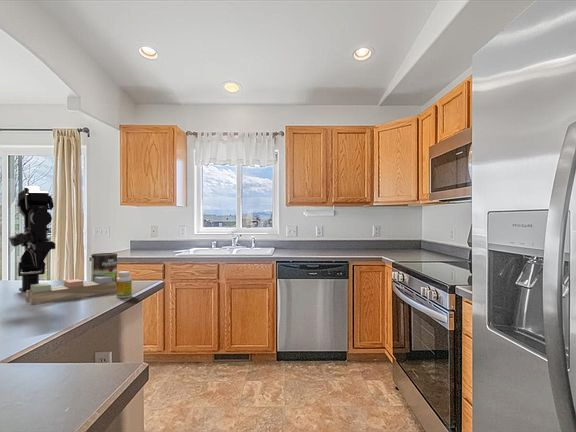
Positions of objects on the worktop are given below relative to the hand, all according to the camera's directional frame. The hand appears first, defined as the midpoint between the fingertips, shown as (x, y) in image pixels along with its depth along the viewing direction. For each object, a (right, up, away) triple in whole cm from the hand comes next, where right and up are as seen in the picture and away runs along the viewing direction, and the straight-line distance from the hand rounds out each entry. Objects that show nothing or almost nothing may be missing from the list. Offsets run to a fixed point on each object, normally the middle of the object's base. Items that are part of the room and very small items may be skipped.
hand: (37, 267), depth 134 cm
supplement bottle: (+29, -13, +7) cm, 32 cm away
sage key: (+3, -10, -2) cm, 11 cm away
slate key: (+17, -10, +14) cm, 25 cm away
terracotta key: (+10, -10, +6) cm, 15 cm away
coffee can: (+12, -12, +25) cm, 30 cm away
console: (+10, -12, +6) cm, 17 cm away
